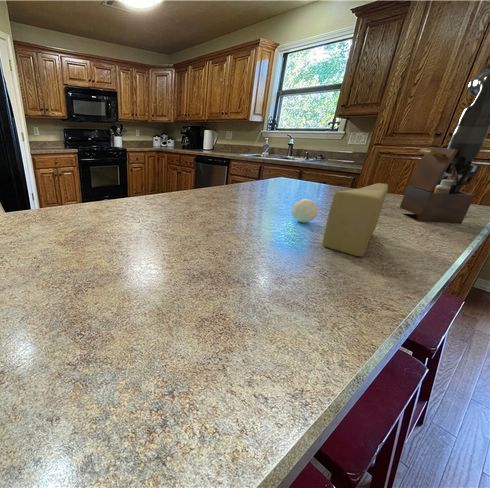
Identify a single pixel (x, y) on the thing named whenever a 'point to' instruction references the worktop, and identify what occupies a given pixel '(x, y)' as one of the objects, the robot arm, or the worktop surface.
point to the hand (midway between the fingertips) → (444, 194)
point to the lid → (431, 167)
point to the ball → (305, 210)
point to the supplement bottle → (444, 186)
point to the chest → (436, 205)
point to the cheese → (354, 218)
